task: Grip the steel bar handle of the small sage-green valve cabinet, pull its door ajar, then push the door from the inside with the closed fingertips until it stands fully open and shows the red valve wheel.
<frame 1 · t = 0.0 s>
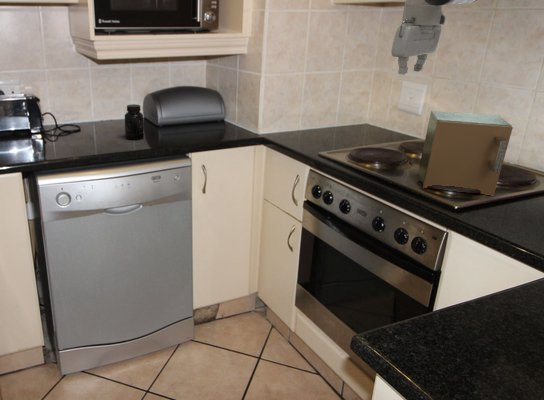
hand: (410, 72, 129), 30 cm above the countertop, tool pointing down, fingers open, 8 cm apart
supplement bottle: (134, 138, 177), on the countertop
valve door: (467, 161, 123), point 10 cm above the countertop, hinge at 0.0°
valve cabinet: (452, 184, 135), on the countertop
valve: (452, 182, 136), resting on valve cabinet
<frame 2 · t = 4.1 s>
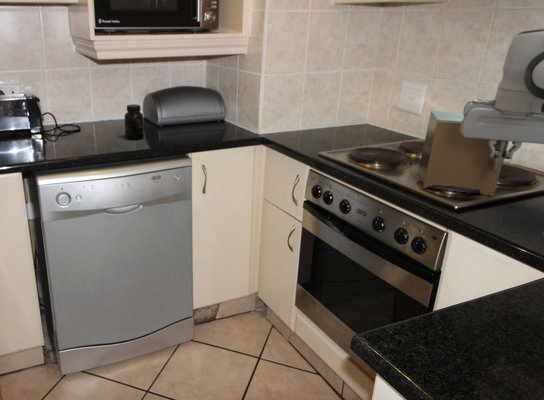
hand: (500, 157, 118), 12 cm above the countertop, tool pointing down, fingers closed on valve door, 2 cm apart
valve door: (467, 161, 123), point 9 cm above the countertop, hinge at 0.0°, touching gripper
everything else where it was.
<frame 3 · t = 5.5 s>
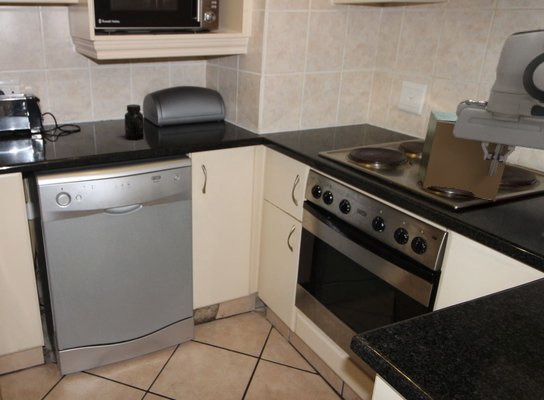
hand: (494, 161, 115), 12 cm above the countertop, tool pointing down, fingers closed, pressing on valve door
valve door: (465, 163, 122), point 10 cm above the countertop, hinge at 14.2°, touching gripper
everything else where it was.
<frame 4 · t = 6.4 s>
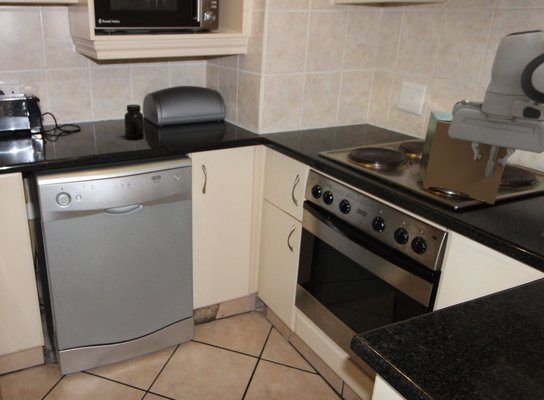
hand: (489, 162, 114), 12 cm above the countertop, tool pointing down, fingers open, 4 cm apart
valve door: (462, 164, 121), point 9 cm above the countertop, hinge at 22.3°
everything else where it was.
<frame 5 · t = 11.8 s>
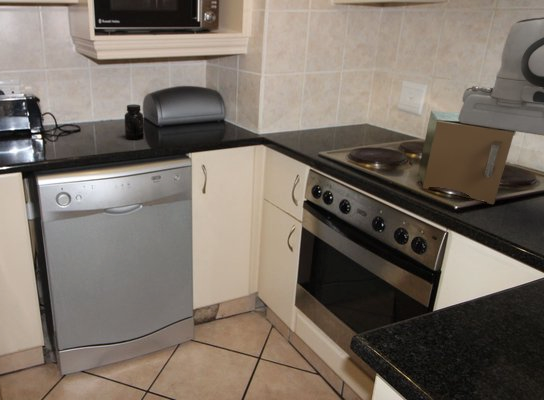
hand: (498, 146, 118), 14 cm above the countertop, tool pointing down, fingers closed
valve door: (462, 164, 121), point 10 cm above the countertop, hinge at 22.3°, touching gripper
everything else where it was.
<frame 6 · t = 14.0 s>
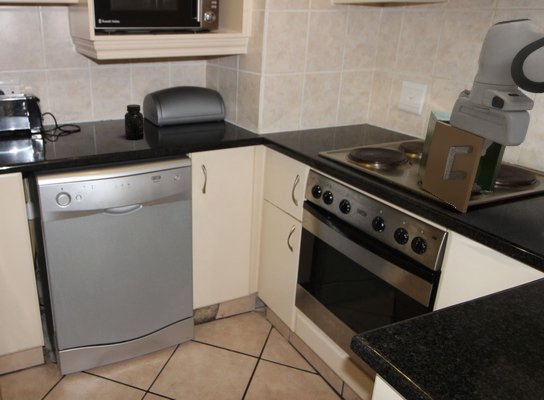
hand: (477, 154, 113), 14 cm above the countertop, tool pointing down, fingers closed, pressing on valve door
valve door: (440, 165, 120), point 10 cm above the countertop, hinge at 64.2°, touching gripper
everything else where it was.
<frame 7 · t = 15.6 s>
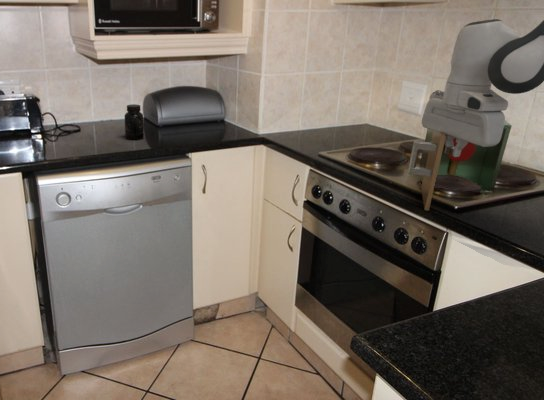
hand: (451, 155, 113), 14 cm above the countertop, tool pointing down, fingers closed
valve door: (420, 163, 122), point 10 cm above the countertop, hinge at 93.8°, touching gripper
everything else where it was.
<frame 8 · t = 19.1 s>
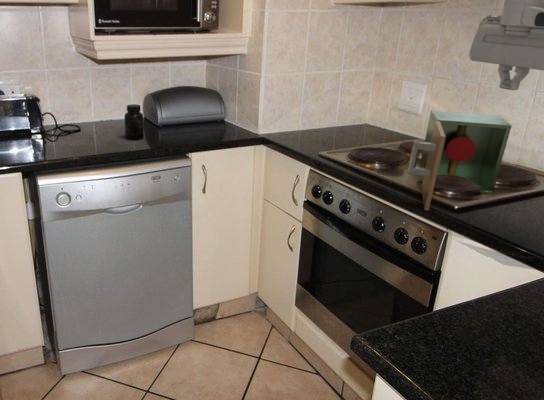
hand: (508, 89, 97), 31 cm above the countertop, tool pointing down, fingers closed
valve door: (420, 163, 122), point 10 cm above the countertop, hinge at 93.8°
everything else where it was.
at the end: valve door at +94° (first picture: +0°) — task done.
